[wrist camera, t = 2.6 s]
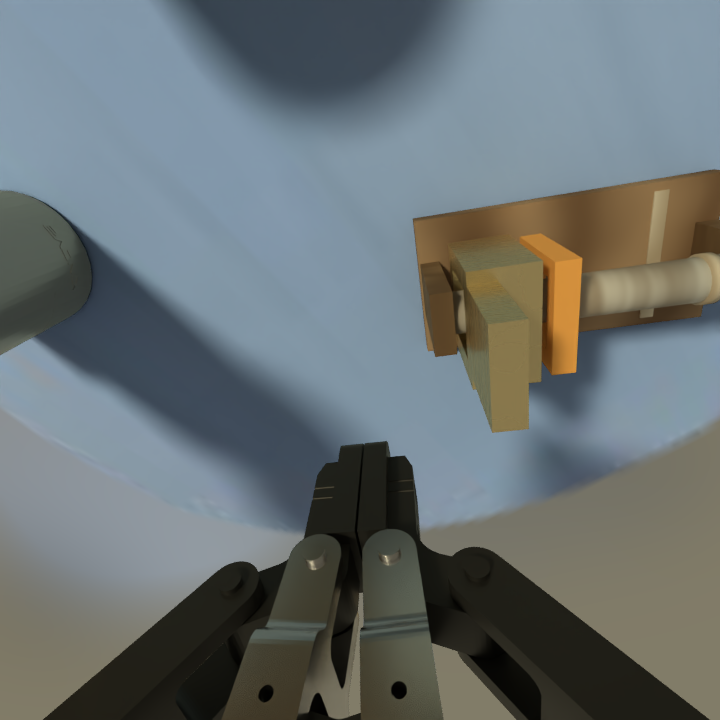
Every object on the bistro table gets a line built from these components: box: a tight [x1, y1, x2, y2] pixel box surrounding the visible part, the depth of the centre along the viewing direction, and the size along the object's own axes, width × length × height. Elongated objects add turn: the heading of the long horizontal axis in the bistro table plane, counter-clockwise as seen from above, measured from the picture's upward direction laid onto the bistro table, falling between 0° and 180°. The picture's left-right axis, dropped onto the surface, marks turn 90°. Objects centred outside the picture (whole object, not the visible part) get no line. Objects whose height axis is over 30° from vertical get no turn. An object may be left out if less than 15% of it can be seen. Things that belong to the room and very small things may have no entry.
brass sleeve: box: [448, 234, 543, 433], centre depth 22 cm, size 4×6×11 cm, turn 10°
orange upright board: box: [520, 233, 582, 375], centre depth 24 cm, size 1×6×6 cm, turn 9°
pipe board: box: [413, 170, 720, 357], centre depth 26 cm, size 18×9×8 cm, turn 100°
